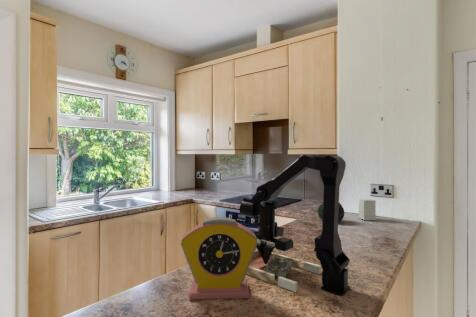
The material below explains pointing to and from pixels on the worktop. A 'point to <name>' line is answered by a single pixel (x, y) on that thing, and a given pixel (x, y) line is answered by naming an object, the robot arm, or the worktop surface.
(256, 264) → the channel
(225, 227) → the retro mantel clock
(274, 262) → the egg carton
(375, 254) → the worktop surface
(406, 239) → the worktop surface
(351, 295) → the worktop surface
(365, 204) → the supplement box
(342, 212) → the squash
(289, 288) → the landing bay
